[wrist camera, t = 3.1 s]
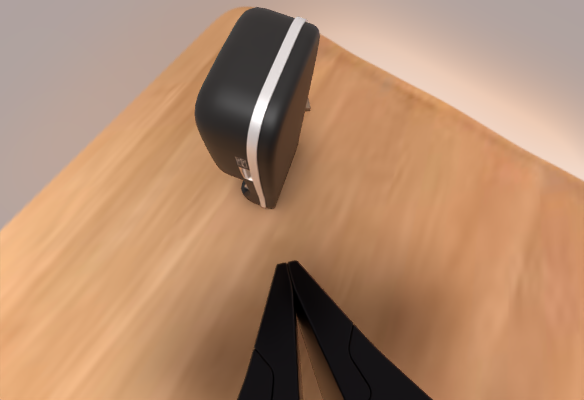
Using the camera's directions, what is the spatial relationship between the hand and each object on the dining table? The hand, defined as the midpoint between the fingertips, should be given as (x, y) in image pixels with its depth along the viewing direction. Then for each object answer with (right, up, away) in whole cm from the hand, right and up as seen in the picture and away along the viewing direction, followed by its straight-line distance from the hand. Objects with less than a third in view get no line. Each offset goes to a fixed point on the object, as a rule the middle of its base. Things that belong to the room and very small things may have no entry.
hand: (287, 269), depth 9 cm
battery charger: (-2, +6, +10) cm, 12 cm away
